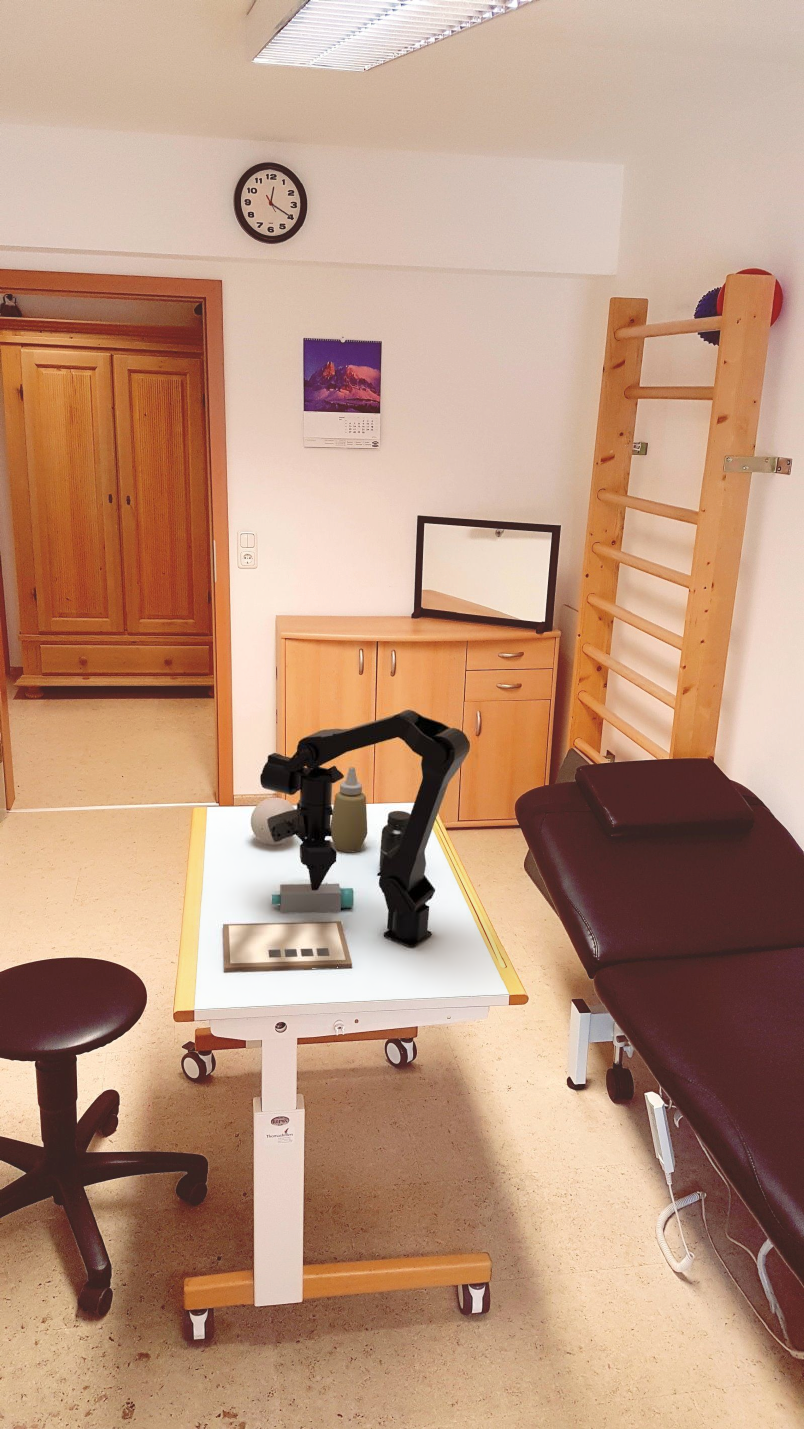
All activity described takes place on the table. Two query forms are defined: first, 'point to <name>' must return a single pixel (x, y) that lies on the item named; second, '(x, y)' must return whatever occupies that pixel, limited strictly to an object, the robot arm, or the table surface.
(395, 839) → the supplement bottle
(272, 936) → the brown framed board
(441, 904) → the table surface
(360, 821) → the squeeze bottle
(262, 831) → the beige ball
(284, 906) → the marker
